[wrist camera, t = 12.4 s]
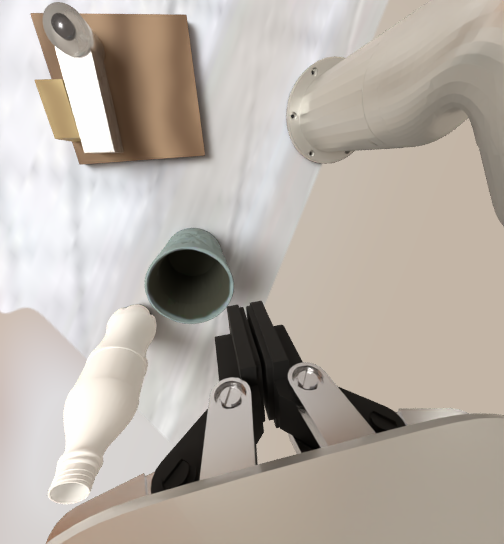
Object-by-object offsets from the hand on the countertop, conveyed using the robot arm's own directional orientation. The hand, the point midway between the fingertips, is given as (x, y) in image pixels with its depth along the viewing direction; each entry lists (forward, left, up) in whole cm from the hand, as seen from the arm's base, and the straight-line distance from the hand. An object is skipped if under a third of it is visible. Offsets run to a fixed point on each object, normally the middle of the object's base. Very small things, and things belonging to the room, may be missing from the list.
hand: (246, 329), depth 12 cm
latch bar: (+11, -15, -27) cm, 33 cm away
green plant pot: (+4, +6, -29) cm, 30 cm away
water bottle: (+15, +16, -29) cm, 37 cm away
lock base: (+8, -15, -29) cm, 34 cm away
